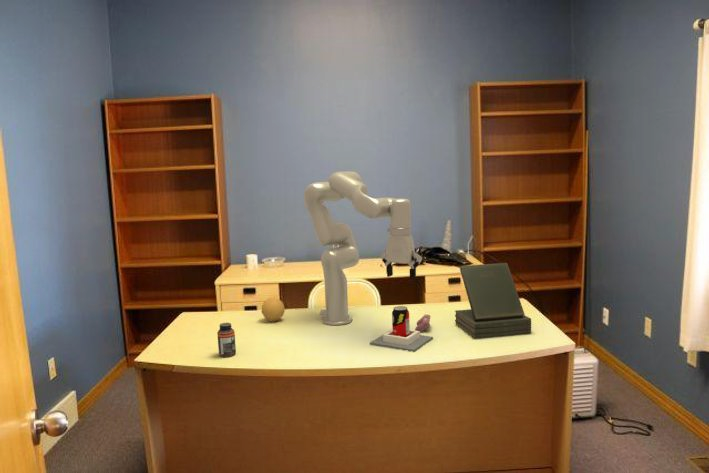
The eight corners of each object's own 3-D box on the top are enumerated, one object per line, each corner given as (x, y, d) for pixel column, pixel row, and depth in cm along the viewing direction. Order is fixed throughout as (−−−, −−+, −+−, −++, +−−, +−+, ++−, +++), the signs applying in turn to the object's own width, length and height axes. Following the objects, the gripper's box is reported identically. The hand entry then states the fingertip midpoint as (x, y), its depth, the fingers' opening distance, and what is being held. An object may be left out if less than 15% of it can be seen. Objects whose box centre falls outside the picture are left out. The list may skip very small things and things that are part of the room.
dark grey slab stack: (473, 340, 193) (472, 273, 190) (454, 325, 213) (454, 264, 210) (531, 334, 197) (531, 269, 194) (508, 320, 216) (507, 261, 213)
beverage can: (399, 335, 198) (398, 304, 196) (413, 338, 194) (412, 307, 192) (389, 340, 193) (388, 308, 192) (403, 343, 189) (402, 311, 188)
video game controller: (424, 336, 203) (432, 321, 202) (414, 331, 204) (421, 316, 202) (425, 329, 213) (433, 314, 211) (415, 324, 213) (423, 309, 212)
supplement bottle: (220, 352, 189) (218, 322, 188) (237, 351, 189) (235, 321, 188) (217, 358, 183) (215, 326, 182) (234, 357, 184) (232, 325, 182)
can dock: (369, 344, 192) (369, 335, 191) (390, 332, 205) (390, 324, 204) (414, 352, 182) (414, 342, 181) (433, 338, 195) (432, 330, 195)
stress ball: (285, 324, 225) (290, 305, 232) (274, 311, 219) (280, 292, 226) (266, 326, 229) (271, 307, 236) (254, 313, 223) (261, 294, 229)
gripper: (375, 232, 195) (376, 277, 198) (416, 234, 186) (417, 281, 188) (385, 229, 202) (386, 273, 204) (426, 232, 192) (426, 277, 194)
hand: (401, 277), depth 196 cm, fingers open, 9 cm apart
